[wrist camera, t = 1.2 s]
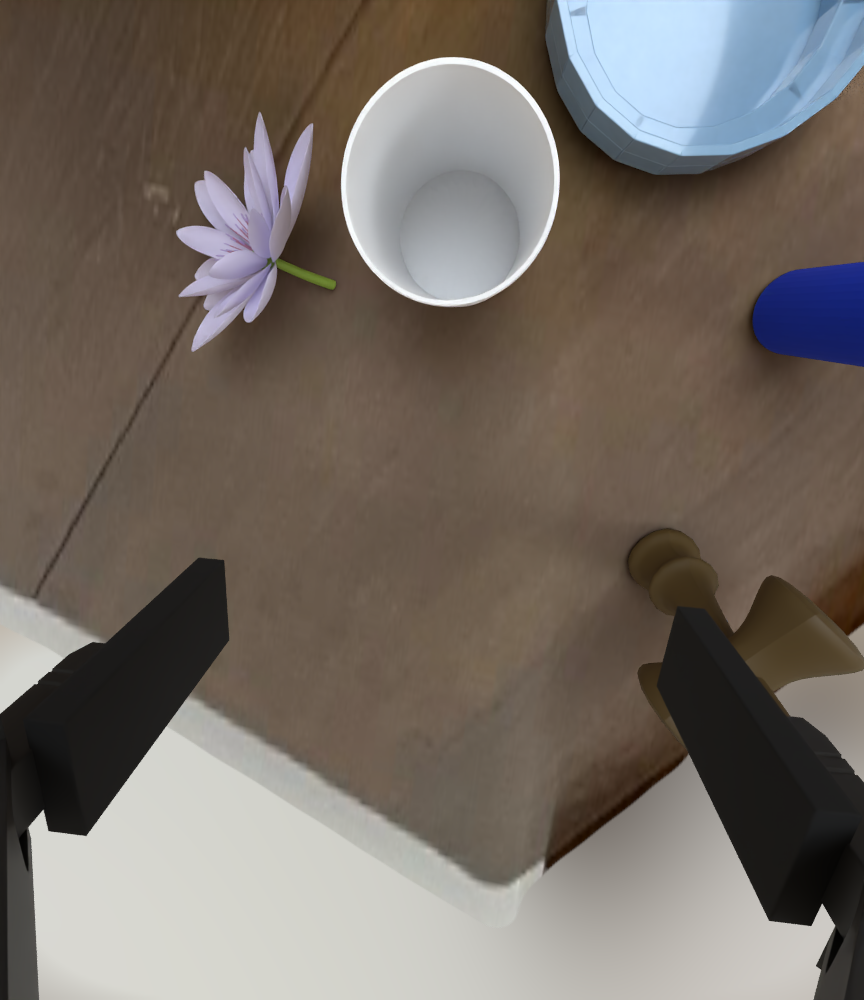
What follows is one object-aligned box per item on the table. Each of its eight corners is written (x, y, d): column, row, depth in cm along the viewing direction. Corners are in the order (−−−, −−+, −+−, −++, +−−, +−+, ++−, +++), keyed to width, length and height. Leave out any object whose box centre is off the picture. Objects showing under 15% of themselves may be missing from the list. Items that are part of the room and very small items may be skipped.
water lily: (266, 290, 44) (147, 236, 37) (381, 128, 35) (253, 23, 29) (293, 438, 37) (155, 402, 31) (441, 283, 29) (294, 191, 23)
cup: (410, 153, 34) (360, 30, 19) (539, 183, 34) (591, 86, 19) (385, 290, 37) (324, 280, 22) (504, 319, 37) (525, 328, 22)
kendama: (586, 572, 42) (674, 784, 24) (685, 488, 40) (876, 652, 21) (637, 619, 44) (761, 857, 25) (738, 540, 41) (964, 742, 22)
